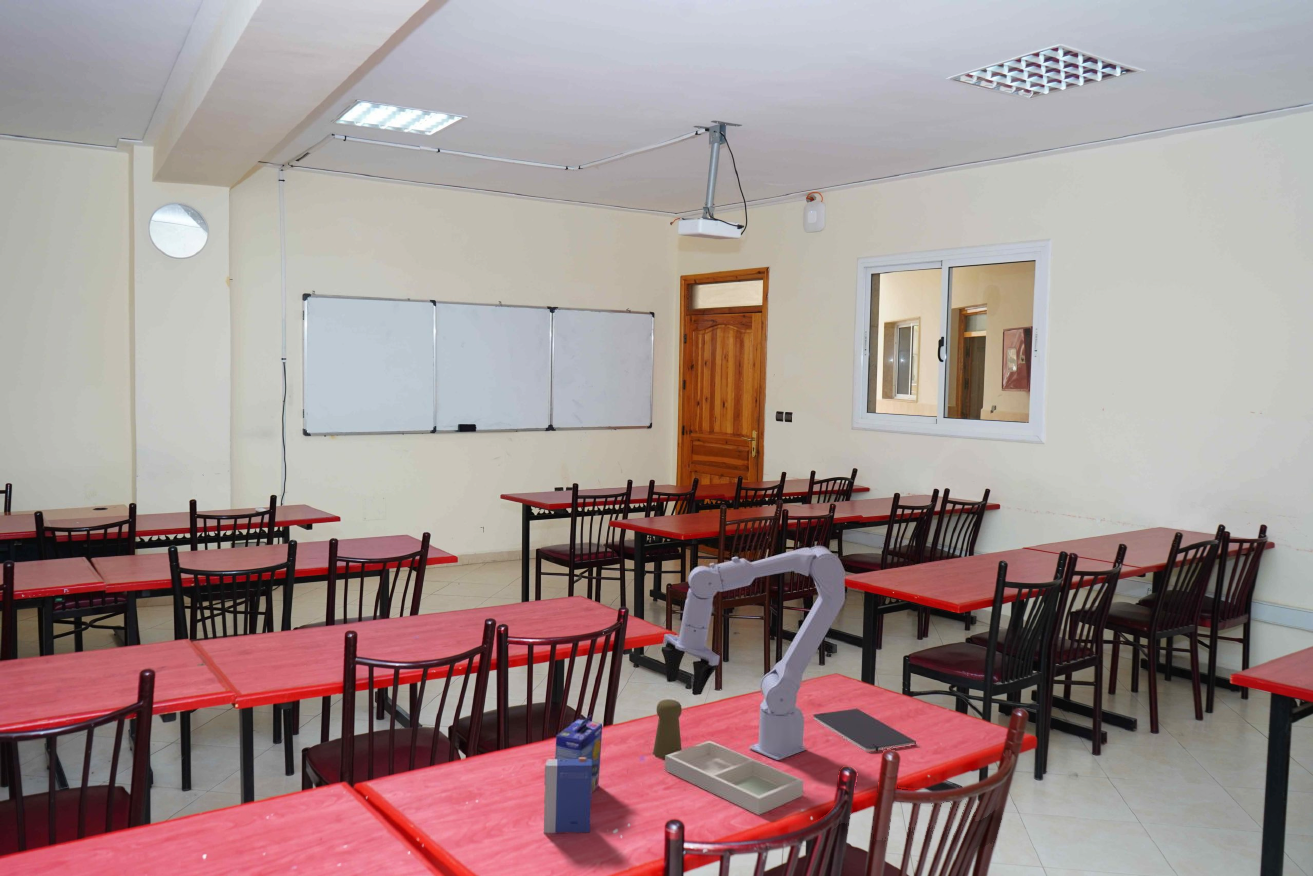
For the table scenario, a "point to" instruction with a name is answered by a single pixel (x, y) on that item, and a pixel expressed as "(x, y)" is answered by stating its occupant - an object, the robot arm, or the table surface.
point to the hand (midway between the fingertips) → (683, 687)
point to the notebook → (863, 730)
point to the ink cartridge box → (581, 745)
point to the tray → (734, 776)
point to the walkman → (567, 795)
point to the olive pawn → (667, 728)
